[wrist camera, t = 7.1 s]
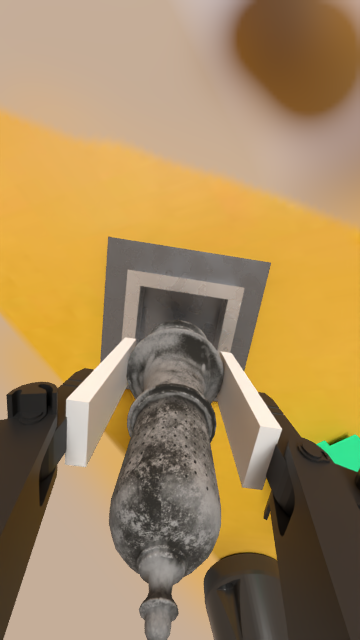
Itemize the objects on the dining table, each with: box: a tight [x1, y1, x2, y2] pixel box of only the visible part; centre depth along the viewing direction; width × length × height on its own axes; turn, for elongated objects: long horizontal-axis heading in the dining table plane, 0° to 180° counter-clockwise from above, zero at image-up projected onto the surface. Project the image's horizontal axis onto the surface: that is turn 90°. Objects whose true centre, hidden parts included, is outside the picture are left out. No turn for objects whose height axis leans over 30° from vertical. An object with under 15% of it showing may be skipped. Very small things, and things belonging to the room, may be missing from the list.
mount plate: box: [100, 237, 271, 402], centre depth 21 cm, size 18×18×4 cm
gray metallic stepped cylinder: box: [109, 320, 224, 640], centre depth 9 cm, size 6×6×12 cm
